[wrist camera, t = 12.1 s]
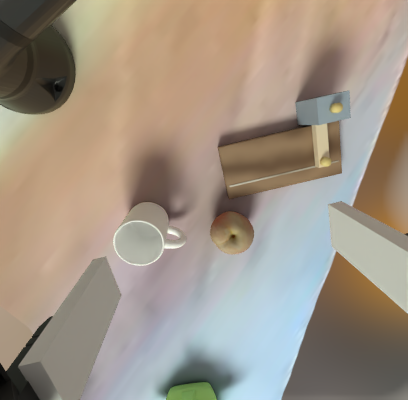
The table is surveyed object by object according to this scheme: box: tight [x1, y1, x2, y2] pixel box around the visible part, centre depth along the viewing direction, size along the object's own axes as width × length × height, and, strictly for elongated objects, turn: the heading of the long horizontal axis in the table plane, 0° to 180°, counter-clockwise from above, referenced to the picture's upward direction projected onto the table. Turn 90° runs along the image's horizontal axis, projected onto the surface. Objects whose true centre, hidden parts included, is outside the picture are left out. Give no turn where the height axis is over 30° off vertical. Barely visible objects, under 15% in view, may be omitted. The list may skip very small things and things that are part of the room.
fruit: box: [210, 211, 254, 254], centre depth 48 cm, size 8×8×8 cm
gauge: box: [295, 91, 351, 168], centre depth 43 cm, size 12×5×9 cm, turn 13°
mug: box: [113, 202, 186, 266], centre depth 46 cm, size 12×8×10 cm
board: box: [218, 121, 342, 199], centre depth 47 cm, size 10×22×2 cm, turn 103°
